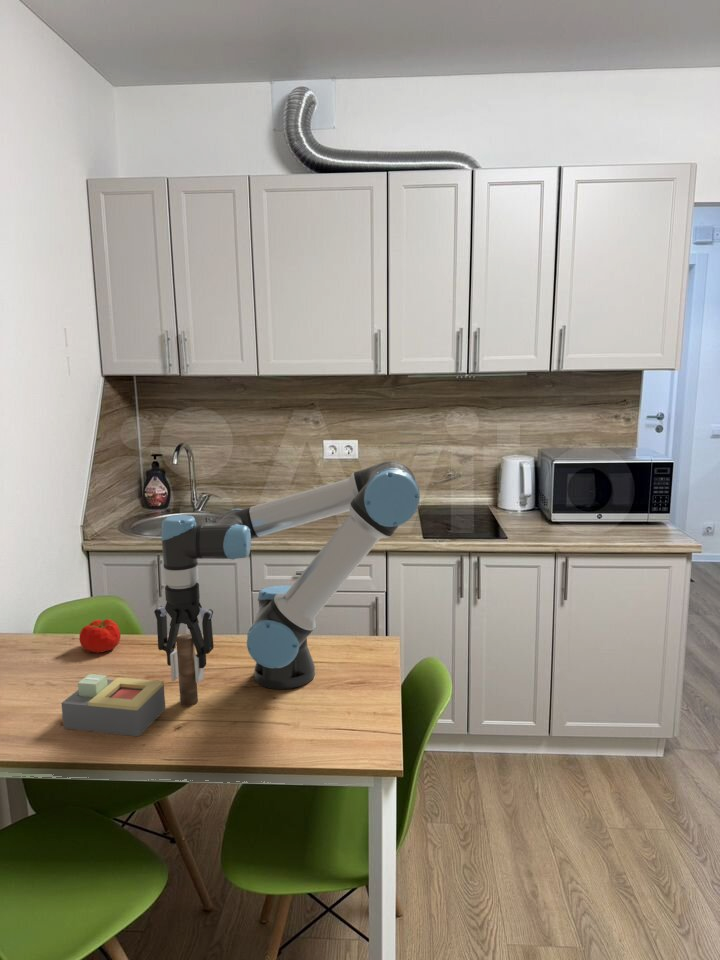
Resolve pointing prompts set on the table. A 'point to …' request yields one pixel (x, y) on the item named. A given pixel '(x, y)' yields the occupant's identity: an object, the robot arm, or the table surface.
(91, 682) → the on button
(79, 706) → the breaker box
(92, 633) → the tomato
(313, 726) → the table surface
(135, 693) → the plunger
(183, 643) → the rounded rod
